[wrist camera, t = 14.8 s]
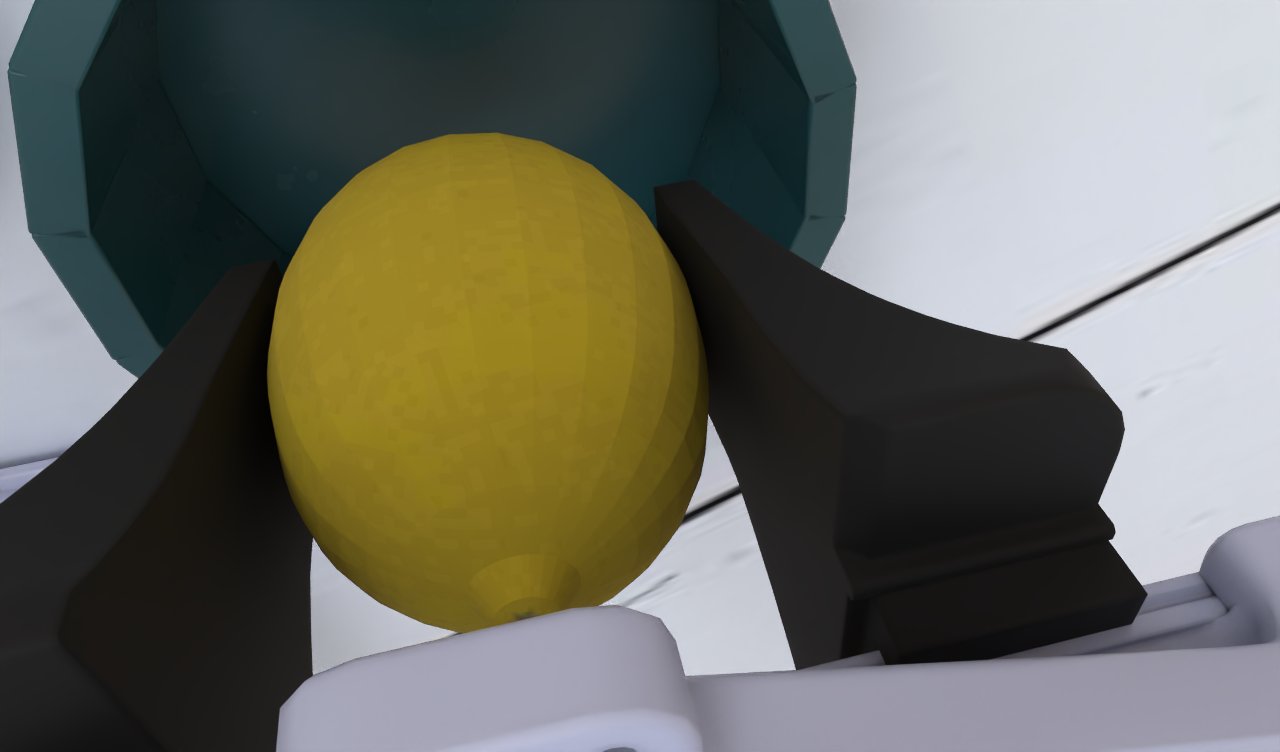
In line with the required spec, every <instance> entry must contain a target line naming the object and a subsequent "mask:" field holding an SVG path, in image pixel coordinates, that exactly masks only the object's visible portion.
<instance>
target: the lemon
mask: <svg viewBox="0 0 1280 752" xmlns="http://www.w3.org/2000/svg"><path fill="white" fill-rule="evenodd" d="M267 382H268V397H269V403H270V410H271V416H272V421H273V427H274V432H275V437H276V442H277V447H278V452H279V457H280V461H281V465H282V470H283V474H284V478H285V481H286V484H287V487H288V489H289V492H290V495H291V498H292V501H293V502H294V504H295V506H296V508H297V510H298V512H299V514H300V516H301V518H302V520H303V521H304V523H305V525H306V526H307V528H308V530H309V531H310V533H311V534H312V536H313V538H314V539H315V541H316V543H317V544H318V546H319V547H320V549H321V551H322V552H323V553H324V554H325V556H326V557H327V558H328V559H329V560H330V562H331V563H332V564H333V565H334V566H335V568H336V569H337V570H339V571H340V572H341V573H342V574H343V575H345V576H346V577H347V578H348V579H349V580H351V581H352V582H353V583H354V584H355V585H357V586H358V587H359V588H360V589H361V590H363V591H364V592H365V593H367V594H368V595H369V596H371V597H372V598H374V599H375V600H376V601H378V602H379V603H381V604H383V605H385V606H387V607H389V608H391V609H393V610H395V611H398V612H400V613H402V614H404V615H406V616H408V617H410V618H413V619H415V620H417V621H419V622H422V623H424V624H427V625H431V626H435V627H439V628H443V629H447V630H451V631H455V632H462V633H468V632H472V631H477V630H481V629H485V628H489V627H494V626H498V625H502V624H507V623H511V622H515V621H520V620H524V619H528V618H532V617H537V616H541V615H545V614H550V613H554V612H558V611H563V610H567V609H571V608H582V607H595V606H599V605H601V604H603V603H604V602H606V601H608V600H610V599H612V598H613V597H614V596H616V595H617V594H618V593H619V592H620V591H622V590H623V589H624V588H625V587H627V586H628V585H629V584H630V583H632V582H633V581H634V580H635V579H636V578H637V577H638V576H640V575H641V574H642V573H643V572H644V571H645V570H646V569H647V568H648V567H649V566H650V565H651V564H652V562H653V561H654V560H655V559H656V557H657V556H658V555H659V554H660V552H661V551H662V550H663V548H664V547H665V546H666V545H667V543H668V542H669V541H670V539H671V538H672V536H673V535H674V534H675V532H676V531H677V529H678V528H679V527H680V525H681V522H682V520H683V518H684V515H685V513H686V510H687V508H688V506H689V503H690V501H691V498H692V496H693V493H694V491H695V489H696V486H697V484H698V481H699V479H700V476H701V472H702V467H703V462H704V457H705V449H706V436H707V423H708V406H709V384H708V369H707V361H706V354H705V349H704V344H703V339H702V335H701V331H700V328H699V324H698V320H697V317H696V313H695V309H694V306H693V302H692V298H691V295H690V292H689V289H688V286H687V283H686V280H685V277H684V275H683V273H682V271H681V269H680V267H679V265H678V263H677V261H676V259H675V258H674V256H673V255H672V253H671V251H670V250H669V248H668V247H667V245H666V244H665V242H664V241H663V239H662V238H661V236H660V235H659V233H658V232H657V230H656V229H655V227H654V226H653V224H652V223H651V221H650V220H649V218H648V217H647V215H646V214H645V213H644V211H643V210H642V209H641V208H640V207H639V205H638V204H637V203H636V202H635V201H634V200H633V199H632V198H630V197H629V196H628V195H627V194H626V193H625V192H623V191H622V190H621V189H620V188H619V187H618V186H616V185H615V184H614V183H613V182H612V181H610V180H609V179H608V178H607V177H606V176H604V175H603V174H602V173H601V172H600V171H598V170H597V169H596V168H595V167H594V166H593V165H591V164H589V163H587V162H585V161H583V160H581V159H579V158H576V157H574V156H572V155H570V154H568V153H566V152H563V151H561V150H559V149H557V148H555V147H553V146H551V145H548V144H546V143H544V142H542V141H537V140H532V139H527V138H521V137H516V136H511V135H506V134H501V133H475V134H449V135H445V136H442V137H438V138H434V139H431V140H427V141H423V142H420V143H416V144H412V145H409V146H405V147H403V148H401V149H399V150H397V151H395V152H394V153H392V154H390V155H388V156H387V157H385V158H383V159H381V160H380V161H378V162H376V163H374V164H373V165H371V166H369V167H367V168H366V169H364V170H362V171H361V172H360V173H358V174H357V175H356V176H355V177H354V178H353V179H351V180H350V181H349V182H348V183H347V184H346V185H345V186H344V187H343V188H342V189H341V190H340V191H339V192H338V193H337V194H336V195H335V196H334V197H333V198H332V199H331V200H330V201H329V202H328V203H327V204H326V205H325V206H324V207H323V208H322V209H321V211H320V212H319V213H318V214H317V216H316V217H315V218H314V220H313V222H312V224H311V225H310V227H309V229H308V231H307V233H306V235H305V236H304V238H303V240H302V242H301V244H300V246H299V247H298V249H297V251H296V253H295V255H294V256H293V258H292V260H291V262H290V264H289V266H288V268H287V270H286V272H285V274H284V277H283V280H282V283H281V286H280V289H279V293H278V298H277V303H276V308H275V315H274V321H273V327H272V333H271V339H270V345H269V351H268V365H267Z"/></svg>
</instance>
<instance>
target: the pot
mask: <svg viewBox="0 0 1280 752" xmlns="http://www.w3.org/2000/svg"><path fill="white" fill-rule="evenodd" d="M7 72H8V80H9V88H10V95H11V103H12V110H13V118H14V125H15V133H16V140H17V148H18V156H19V163H20V171H21V178H22V186H23V193H24V201H25V208H26V216H27V223H28V230H29V232H30V233H32V238H33V239H34V241H35V242H36V244H37V245H38V247H39V248H40V250H41V251H42V253H43V255H44V256H45V258H46V259H47V261H48V262H49V264H50V265H51V267H52V268H53V270H54V271H55V273H56V274H57V276H58V277H59V279H60V280H61V282H62V283H63V285H64V286H65V288H66V289H67V291H68V292H69V294H70V295H71V297H72V298H73V300H74V302H75V303H76V305H77V306H78V308H79V309H80V311H81V312H82V314H83V315H84V317H85V318H86V320H87V321H88V323H89V324H90V326H91V327H92V329H93V330H94V332H95V333H96V335H97V336H98V338H99V339H100V341H101V342H102V344H103V345H104V347H105V349H106V350H107V352H108V353H109V355H110V356H111V358H112V359H114V360H116V361H117V363H118V364H119V365H121V366H122V367H123V368H125V369H126V370H128V371H129V372H130V373H132V374H133V375H135V376H136V377H137V378H140V377H141V376H142V374H143V373H144V372H145V371H146V370H147V369H148V368H149V367H150V366H151V364H152V363H153V362H154V361H155V360H156V359H157V358H158V357H159V356H160V354H161V353H162V352H163V351H164V350H165V348H166V347H167V346H168V345H169V343H170V342H171V341H172V340H173V338H174V337H175V336H176V335H177V333H178V332H179V331H180V330H181V329H182V327H183V326H184V325H185V324H186V322H187V321H188V320H189V319H190V317H191V316H192V315H193V314H194V312H195V311H196V310H197V309H198V307H199V306H200V305H201V303H202V302H203V301H204V300H205V298H206V297H207V296H208V295H209V293H210V292H211V291H212V290H213V288H214V287H215V286H216V285H217V283H218V282H219V281H220V280H221V278H222V277H223V276H224V275H225V274H226V273H227V272H228V270H229V269H230V268H231V267H235V266H240V265H245V264H250V263H256V262H261V261H266V260H272V259H275V260H276V262H277V265H278V267H279V269H280V271H281V274H282V276H283V277H284V274H285V272H286V270H287V268H288V266H289V264H290V262H291V260H292V258H293V256H294V255H295V253H296V251H297V249H298V247H299V246H300V244H301V242H302V240H303V238H304V236H305V235H306V233H307V231H308V229H309V227H310V225H311V224H312V222H313V220H314V218H315V217H316V216H317V214H318V213H319V212H320V211H321V209H322V208H323V207H324V206H325V205H326V204H327V203H328V202H329V201H330V200H331V199H332V198H333V197H334V196H335V195H336V194H337V193H338V192H339V191H340V190H341V189H342V188H343V187H344V186H345V185H346V184H347V183H348V182H349V181H350V180H351V179H353V178H354V177H355V176H356V175H357V174H358V173H360V172H361V171H362V170H364V169H366V168H367V167H369V166H371V165H373V164H374V163H376V162H378V161H380V160H381V159H383V158H385V157H387V156H388V155H390V154H392V153H394V152H395V151H397V150H399V149H401V148H403V147H405V146H409V145H412V144H416V143H420V142H423V141H427V140H431V139H434V138H438V137H442V136H445V135H449V134H475V133H501V134H506V135H511V136H516V137H521V138H527V139H532V140H537V141H542V142H544V143H546V144H548V145H551V146H553V147H555V148H557V149H559V150H561V151H563V152H566V153H568V154H570V155H572V156H574V157H576V158H579V159H581V160H583V161H585V162H587V163H589V164H591V165H593V166H594V167H595V168H596V169H597V170H598V171H600V172H601V173H602V174H603V175H604V176H606V177H607V178H608V179H609V180H610V181H612V182H613V183H614V184H615V185H616V186H618V187H619V188H620V189H621V190H622V191H623V192H625V193H626V194H627V195H628V196H629V197H630V198H632V199H633V200H634V201H635V202H636V203H637V204H638V205H639V207H640V208H641V209H642V210H643V211H644V213H645V214H646V215H647V217H648V218H649V220H650V221H651V223H652V224H653V226H654V227H655V229H656V230H657V220H656V209H655V198H654V187H656V186H661V185H667V184H672V183H677V182H682V181H688V180H693V179H694V180H695V181H696V182H698V183H699V184H700V185H702V186H703V187H704V188H705V189H707V190H708V191H709V192H711V193H712V194H713V195H714V196H716V197H717V198H718V199H719V200H721V201H722V202H723V203H724V204H726V205H727V206H728V207H730V208H731V209H732V210H733V211H735V212H736V213H737V214H739V215H740V216H741V217H742V218H744V219H745V220H746V221H748V222H749V223H750V224H752V225H753V226H754V227H756V228H757V229H759V230H760V231H761V232H763V233H764V234H766V235H767V236H768V237H770V238H771V239H773V240H774V241H776V242H777V243H779V244H780V245H782V246H783V247H785V248H786V249H788V250H789V251H791V252H793V253H794V254H796V255H798V256H799V257H801V258H803V259H804V260H806V261H808V262H809V263H811V264H813V265H814V266H816V267H818V268H819V269H820V268H821V266H822V264H823V262H824V260H825V258H826V256H827V254H828V252H829V250H830V248H831V246H832V245H833V243H834V241H835V239H836V237H837V235H838V233H839V231H840V229H841V227H842V225H843V223H844V221H845V216H844V215H845V214H846V210H847V197H848V185H849V173H850V160H851V148H852V136H853V124H854V111H855V99H856V83H855V82H856V76H855V73H854V70H853V67H852V64H851V62H850V59H849V56H848V53H847V51H846V48H845V45H844V42H843V39H842V37H841V34H840V31H839V28H838V26H837V23H836V20H835V17H834V15H833V12H832V9H831V6H830V3H829V1H828V0H35V2H34V4H33V7H32V9H31V12H30V14H29V16H28V19H27V21H26V24H25V26H24V28H23V31H22V33H21V35H20V38H19V40H18V43H17V45H16V47H15V50H14V52H13V55H12V57H11V59H10V62H9V69H8V71H7ZM657 232H658V231H657Z"/></svg>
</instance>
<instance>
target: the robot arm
mask: <svg viewBox="0 0 1280 752" xmlns="http://www.w3.org/2000/svg"><path fill="white" fill-rule="evenodd" d="M654 198H655V209H656V220H657V231H658V233H659V235H660V236H661V238H662V239H663V241H664V242H665V244H666V245H667V247H668V248H669V250H670V251H671V253H672V255H673V256H674V258H675V259H676V261H677V263H678V265H679V267H680V269H681V271H682V273H683V275H684V277H685V280H686V283H687V286H688V289H689V292H690V295H691V298H692V302H693V306H694V309H695V313H696V317H697V320H698V324H699V328H700V331H701V335H702V339H703V344H704V349H705V354H706V361H707V369H708V384H709V406H708V414H709V416H710V418H711V420H712V422H713V425H714V427H715V429H716V431H717V433H718V435H719V438H720V440H721V442H722V444H723V446H724V449H725V451H726V453H727V455H728V457H729V460H730V462H731V465H732V467H733V470H734V472H735V475H736V477H737V480H738V483H739V486H740V489H741V492H742V495H743V498H744V501H745V504H746V507H747V510H748V513H749V516H750V520H751V523H752V526H753V529H754V532H755V535H756V538H757V541H758V545H759V548H760V551H761V554H762V557H763V561H764V564H765V567H766V570H767V573H768V576H769V580H770V583H771V586H772V589H773V593H774V596H775V600H776V603H777V606H778V610H779V613H780V616H781V620H782V623H783V626H784V630H785V633H786V636H787V640H788V643H789V647H790V650H791V654H792V657H793V661H794V664H795V668H796V670H790V671H772V672H753V673H734V674H716V675H697V676H685V673H684V670H683V666H682V662H681V659H680V655H679V651H678V648H677V644H676V641H675V639H674V638H673V636H672V635H671V633H670V632H669V630H668V629H667V628H666V626H665V625H664V623H663V622H662V620H661V619H660V618H657V617H655V616H652V615H649V614H646V613H642V612H639V611H636V610H632V609H629V608H626V607H622V606H619V605H607V606H595V607H582V608H571V609H567V610H563V611H558V612H554V613H550V614H545V615H541V616H537V617H532V618H528V619H524V620H520V621H515V622H511V623H507V624H502V625H498V626H494V627H489V628H485V629H481V630H477V631H472V632H468V633H464V634H459V635H455V636H451V637H446V638H442V639H438V640H434V641H429V642H425V643H421V644H416V645H412V646H408V647H403V648H399V649H395V650H390V651H386V652H382V653H378V654H373V655H369V656H365V657H360V658H356V659H353V660H351V661H348V662H346V663H343V664H341V665H338V666H336V667H333V668H331V669H328V670H326V671H323V672H321V673H318V674H316V675H313V673H312V646H311V595H310V571H311V553H312V542H313V536H312V534H311V533H310V531H309V530H308V528H307V526H306V525H305V523H304V521H303V520H302V518H301V516H300V514H299V512H298V510H297V508H296V506H295V504H294V502H293V501H292V498H291V495H290V492H289V489H288V487H287V484H286V481H285V478H284V474H283V470H282V465H281V461H280V457H279V452H278V447H277V442H276V437H275V432H274V427H273V421H272V416H271V410H270V403H269V397H268V382H267V365H268V351H269V345H270V339H271V333H272V327H273V321H274V315H275V308H276V303H277V298H278V293H279V289H280V286H281V283H282V280H283V276H282V274H281V271H280V269H279V267H278V265H277V262H276V260H275V259H272V260H266V261H261V262H256V263H250V264H245V265H240V266H235V267H231V268H230V269H229V270H228V272H227V273H226V274H225V275H224V276H223V277H222V278H221V280H220V281H219V282H218V283H217V285H216V286H215V287H214V288H213V290H212V291H211V292H210V293H209V295H208V296H207V297H206V298H205V300H204V301H203V302H202V303H201V305H200V306H199V307H198V309H197V310H196V311H195V312H194V314H193V315H192V316H191V317H190V319H189V320H188V321H187V322H186V324H185V325H184V326H183V327H182V329H181V330H180V331H179V332H178V333H177V335H176V336H175V337H174V338H173V340H172V341H171V342H170V343H169V345H168V346H167V347H166V348H165V350H164V351H163V352H162V353H161V354H160V356H159V357H158V358H157V359H156V360H155V361H154V362H153V363H152V364H151V366H150V367H149V368H148V369H147V370H146V371H145V372H144V373H143V374H142V376H141V377H140V378H139V379H138V380H137V381H136V382H135V383H134V384H133V386H132V387H131V388H130V389H129V390H128V391H127V392H126V393H125V394H124V395H123V397H122V398H121V399H120V400H119V401H118V402H117V403H116V404H115V405H114V406H113V407H112V408H111V409H110V410H109V411H108V412H107V413H106V414H105V415H104V416H103V417H102V418H101V419H100V420H99V421H98V422H97V423H96V424H95V425H94V426H93V427H92V428H91V429H90V430H89V431H88V432H86V433H85V434H84V435H83V436H82V437H81V438H80V439H79V440H78V441H76V442H75V443H74V444H73V445H72V446H71V447H70V448H69V449H68V450H67V451H65V452H64V453H63V454H62V455H61V456H60V457H56V458H52V459H47V460H42V461H37V462H32V463H27V464H22V465H17V466H13V467H8V468H3V469H0V752H1280V516H1277V517H1272V518H1268V519H1264V520H1260V521H1256V522H1252V523H1248V524H1244V525H1241V526H1239V527H1236V528H1233V529H1231V530H1229V531H1228V532H1226V533H1225V534H1223V535H1222V536H1220V537H1219V538H1217V540H1216V541H1215V542H1214V543H1213V544H1212V545H1211V546H1210V547H1209V549H1208V551H1207V553H1206V554H1205V557H1204V559H1203V562H1202V565H1201V568H1200V571H1199V572H1196V573H1192V574H1188V575H1184V576H1180V577H1176V578H1172V579H1168V580H1164V581H1160V582H1155V583H1151V584H1147V585H1143V586H1142V585H1141V584H1140V582H1139V581H1138V580H1137V578H1136V577H1135V576H1134V574H1133V573H1132V572H1131V570H1130V569H1129V568H1128V566H1127V565H1126V564H1125V562H1124V561H1123V559H1122V558H1121V557H1120V555H1119V554H1118V553H1117V551H1116V550H1115V549H1114V547H1113V546H1112V545H1111V543H1110V542H1109V541H1108V540H1111V539H1113V537H1114V535H1115V533H1116V532H1115V527H1114V524H1113V523H1112V521H1111V520H1110V519H1109V518H1108V516H1107V515H1106V514H1105V512H1104V511H1103V510H1102V508H1101V507H1100V506H1099V504H1098V502H1099V500H1100V497H1101V495H1102V493H1103V490H1104V488H1105V485H1106V483H1107V480H1108V478H1109V476H1110V473H1111V471H1112V468H1113V466H1114V463H1115V461H1116V459H1117V456H1118V454H1119V451H1120V447H1121V443H1122V439H1123V435H1124V431H1125V428H1124V422H1123V416H1122V411H1121V410H1120V409H1119V408H1118V406H1117V405H1116V404H1115V403H1114V401H1113V400H1112V399H1111V398H1110V397H1109V395H1108V394H1107V393H1106V392H1105V390H1104V389H1103V388H1102V387H1101V386H1100V384H1099V383H1098V382H1097V381H1096V380H1095V378H1094V377H1093V376H1092V375H1091V374H1090V372H1089V371H1088V370H1087V369H1086V368H1085V367H1084V366H1083V365H1082V364H1081V363H1080V362H1079V361H1078V360H1077V359H1076V358H1075V357H1074V356H1073V355H1072V354H1071V353H1070V352H1069V351H1068V350H1067V349H1064V348H1059V347H1054V346H1049V345H1044V344H1038V343H1033V342H1028V341H1023V340H1018V339H1012V338H1007V337H1002V336H997V335H993V334H989V333H985V332H982V331H978V330H974V329H970V328H967V327H963V326H959V325H956V324H952V323H949V322H946V321H942V320H939V319H936V318H933V317H930V316H927V315H924V314H921V313H918V312H915V311H913V310H910V309H907V308H905V307H902V306H899V305H897V304H894V303H891V302H889V301H886V300H884V299H881V298H879V297H877V296H874V295H872V294H870V293H867V292H865V291H863V290H861V289H859V288H857V287H855V286H853V285H851V284H849V283H847V282H844V281H842V280H840V279H838V278H836V277H834V276H832V275H830V274H829V273H827V272H825V271H823V270H821V269H819V268H818V267H816V266H814V265H813V264H811V263H809V262H808V261H806V260H804V259H803V258H801V257H799V256H798V255H796V254H794V253H793V252H791V251H789V250H788V249H786V248H785V247H783V246H782V245H780V244H779V243H777V242H776V241H774V240H773V239H771V238H770V237H768V236H767V235H766V234H764V233H763V232H761V231H760V230H759V229H757V228H756V227H754V226H753V225H752V224H750V223H749V222H748V221H746V220H745V219H744V218H742V217H741V216H740V215H739V214H737V213H736V212H735V211H733V210H732V209H731V208H730V207H728V206H727V205H726V204H724V203H723V202H722V201H721V200H719V199H718V198H717V197H716V196H714V195H713V194H712V193H711V192H709V191H708V190H707V189H705V188H704V187H703V186H702V185H700V184H699V183H698V182H696V181H695V180H694V179H693V180H688V181H682V182H677V183H672V184H667V185H661V186H656V187H654Z"/></svg>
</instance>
